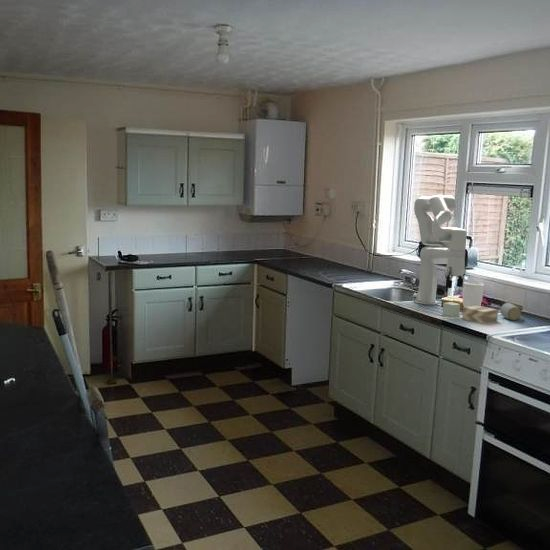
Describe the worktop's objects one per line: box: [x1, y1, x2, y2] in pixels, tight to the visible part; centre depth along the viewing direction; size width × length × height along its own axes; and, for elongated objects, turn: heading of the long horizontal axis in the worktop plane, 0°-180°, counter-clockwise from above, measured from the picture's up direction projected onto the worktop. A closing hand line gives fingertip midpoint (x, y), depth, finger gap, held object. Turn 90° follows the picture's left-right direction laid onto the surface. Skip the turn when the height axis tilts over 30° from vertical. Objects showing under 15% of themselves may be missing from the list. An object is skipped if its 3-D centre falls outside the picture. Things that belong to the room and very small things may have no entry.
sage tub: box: [441, 301, 461, 317], centre depth 318 cm, size 6×6×6 cm
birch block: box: [461, 305, 499, 324], centre depth 310 cm, size 12×12×6 cm
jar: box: [462, 281, 485, 307], centre depth 331 cm, size 11×10×15 cm
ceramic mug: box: [500, 302, 525, 321], centre depth 316 cm, size 11×8×8 cm
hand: (454, 287), depth 316 cm, fingers open, 9 cm apart
